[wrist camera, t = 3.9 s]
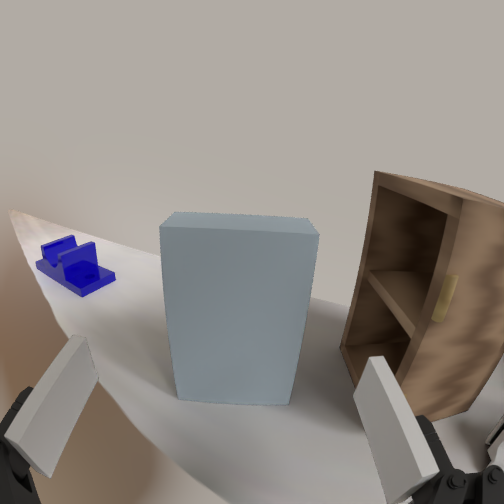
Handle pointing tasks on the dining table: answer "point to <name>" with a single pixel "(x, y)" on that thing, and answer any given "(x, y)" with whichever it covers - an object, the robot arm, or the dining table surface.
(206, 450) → the dining table surface
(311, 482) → the dining table surface
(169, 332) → the upright grey-blue slab
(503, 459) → the white rounded housing
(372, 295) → the cabinet
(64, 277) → the mounting bracket
